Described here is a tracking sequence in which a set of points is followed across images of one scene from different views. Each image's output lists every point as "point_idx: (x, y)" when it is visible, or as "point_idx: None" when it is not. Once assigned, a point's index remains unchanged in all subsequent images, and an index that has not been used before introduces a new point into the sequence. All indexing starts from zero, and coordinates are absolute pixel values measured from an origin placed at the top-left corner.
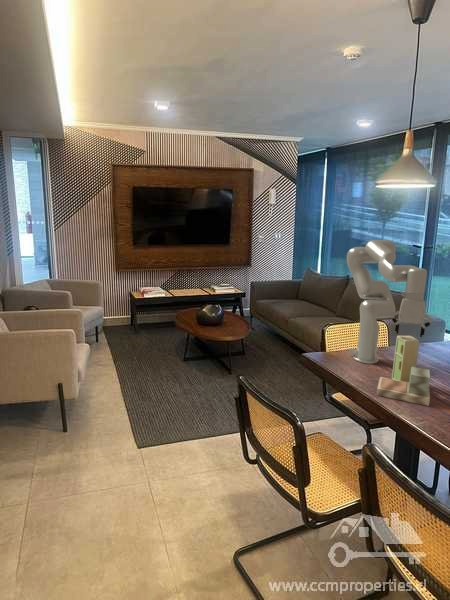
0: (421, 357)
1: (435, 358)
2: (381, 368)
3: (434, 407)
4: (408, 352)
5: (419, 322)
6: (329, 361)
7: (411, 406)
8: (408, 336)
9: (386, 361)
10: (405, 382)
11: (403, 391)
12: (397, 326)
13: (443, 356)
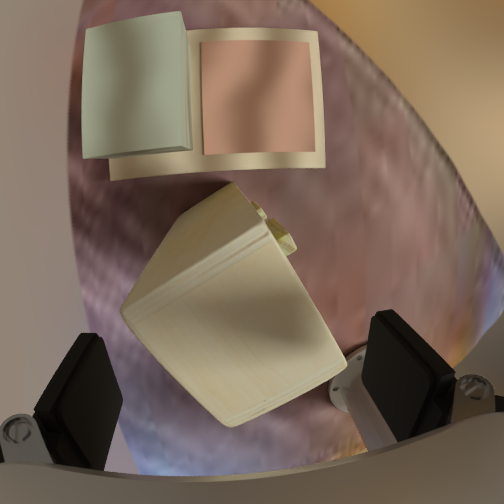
0: (198, 471)
1: None
2: None
3: None
4: (213, 222)
5: (25, 484)
6: (470, 283)
7: None
8: (243, 400)
9: (299, 402)
10: (209, 153)
11: (211, 44)
12: (440, 360)
13: None
